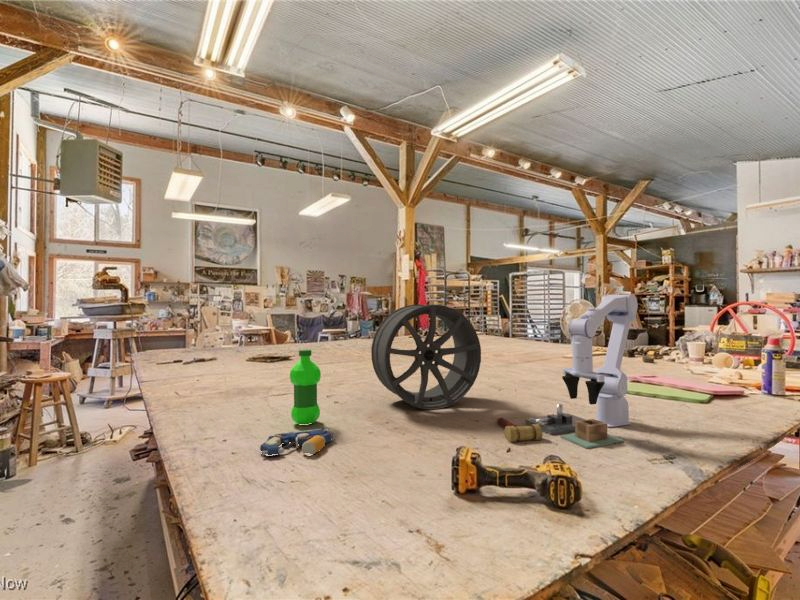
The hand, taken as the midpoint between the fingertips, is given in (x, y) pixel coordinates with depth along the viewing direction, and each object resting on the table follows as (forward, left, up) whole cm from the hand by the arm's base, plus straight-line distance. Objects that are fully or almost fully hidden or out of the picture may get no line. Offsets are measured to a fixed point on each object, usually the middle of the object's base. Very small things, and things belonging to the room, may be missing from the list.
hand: (582, 401), depth 125 cm
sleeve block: (+3, +6, -9) cm, 11 cm away
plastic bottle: (+79, -43, -10) cm, 90 cm away
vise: (+2, -8, -10) cm, 13 cm away
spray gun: (+84, -20, -11) cm, 87 cm away
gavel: (+19, -10, -10) cm, 24 cm away
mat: (+3, +6, -10) cm, 12 cm away
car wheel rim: (+30, -52, -10) cm, 61 cm away
